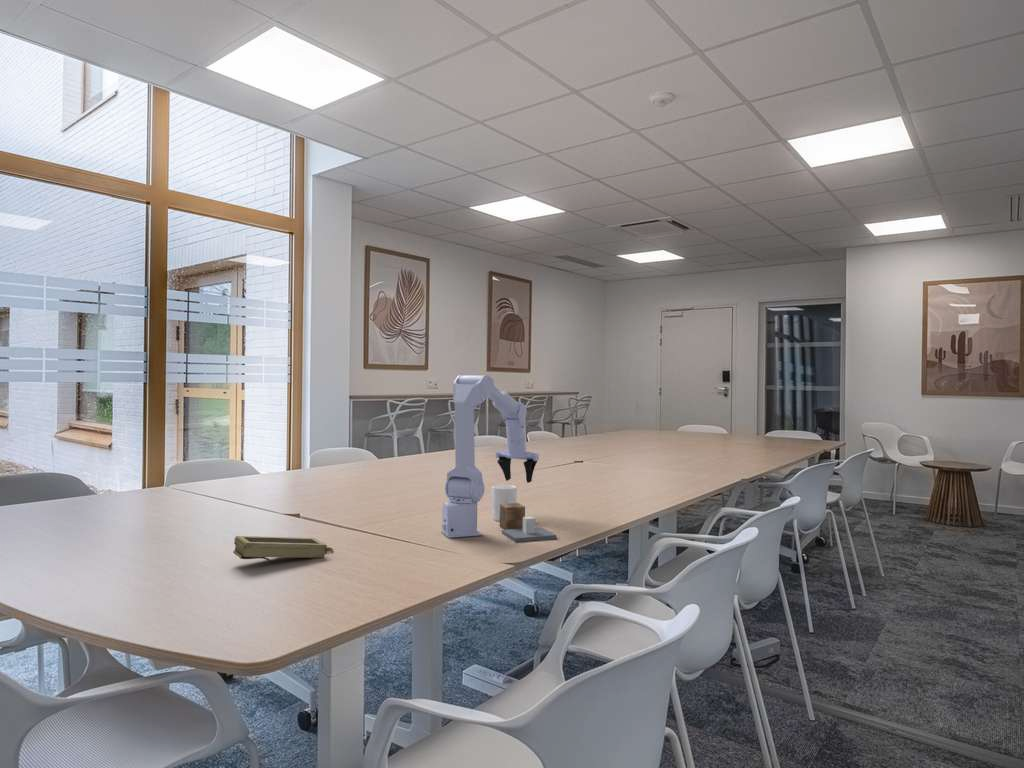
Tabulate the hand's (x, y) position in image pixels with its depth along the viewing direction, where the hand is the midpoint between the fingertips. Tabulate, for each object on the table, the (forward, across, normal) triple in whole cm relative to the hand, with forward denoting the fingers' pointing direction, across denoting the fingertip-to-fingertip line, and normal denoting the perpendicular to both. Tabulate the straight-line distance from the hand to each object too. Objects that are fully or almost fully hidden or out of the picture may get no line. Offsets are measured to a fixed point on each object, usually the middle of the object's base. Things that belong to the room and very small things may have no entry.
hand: (518, 480), depth 198 cm
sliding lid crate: (+7, -8, +20) cm, 23 cm away
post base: (+6, -16, +26) cm, 31 cm away
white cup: (+9, 0, +11) cm, 14 cm away
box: (-2, +21, +75) cm, 78 cm away
